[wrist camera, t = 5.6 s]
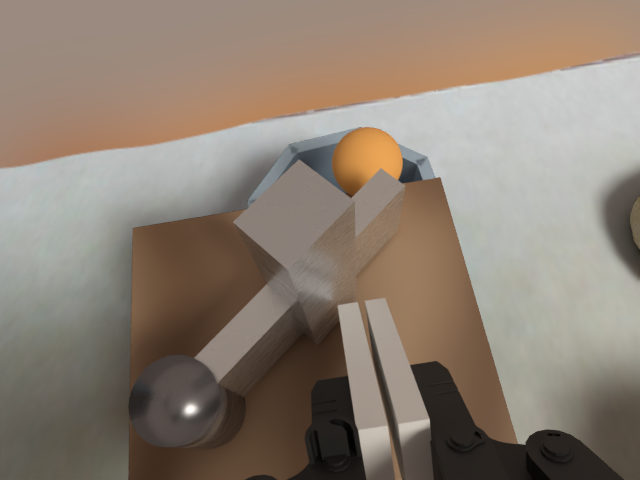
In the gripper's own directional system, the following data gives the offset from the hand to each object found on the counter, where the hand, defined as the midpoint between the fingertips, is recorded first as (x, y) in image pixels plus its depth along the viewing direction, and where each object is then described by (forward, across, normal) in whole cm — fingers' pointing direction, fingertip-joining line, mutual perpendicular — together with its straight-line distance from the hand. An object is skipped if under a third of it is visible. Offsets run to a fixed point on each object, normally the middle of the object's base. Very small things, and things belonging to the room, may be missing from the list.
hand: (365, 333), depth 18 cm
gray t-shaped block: (+2, -3, 0) cm, 4 cm away
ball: (+6, +2, +5) cm, 8 cm away
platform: (+10, -3, -8) cm, 13 cm away
